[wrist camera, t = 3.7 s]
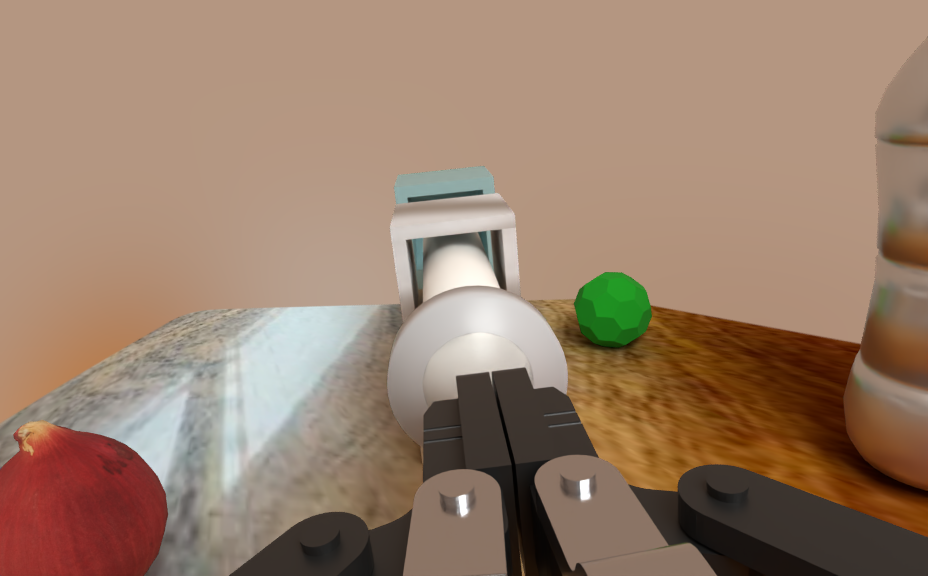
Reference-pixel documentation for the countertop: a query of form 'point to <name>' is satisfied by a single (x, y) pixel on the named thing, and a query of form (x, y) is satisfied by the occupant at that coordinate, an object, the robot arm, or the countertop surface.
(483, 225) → the sleeve stand
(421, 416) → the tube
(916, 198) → the plastic bottle
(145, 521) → the onion
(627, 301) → the polyhedron
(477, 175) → the socket
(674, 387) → the countertop surface
